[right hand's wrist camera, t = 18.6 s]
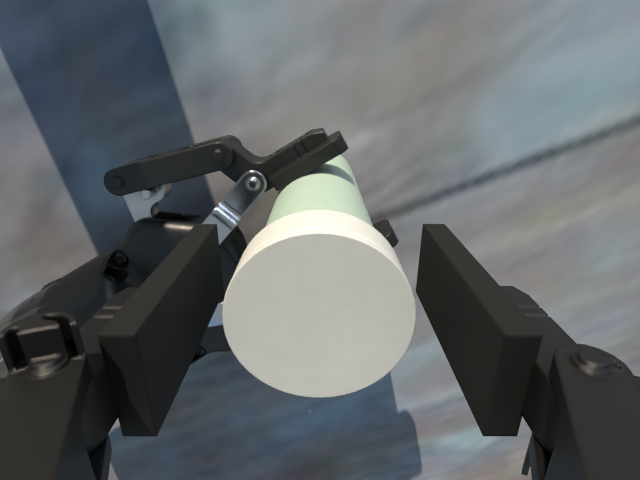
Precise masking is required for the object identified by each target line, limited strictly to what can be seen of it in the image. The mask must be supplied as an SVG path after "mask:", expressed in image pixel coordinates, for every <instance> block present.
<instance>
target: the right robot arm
mask: <svg viewBox="0 0 640 480" xmlns="http://www.w3.org/2000/svg"><path fill="white" fill-rule="evenodd" d="M223 293H224V286H223V276H222V267H221V258H220V248H219V239H218V229H217V224H195V225H194V227H193V228H192V229H191V230H190V231H189V232H188V233H187V234H186V236H185V237H184V238H183V239H182V240H181V241H180V242H179V243H178V245H177V246H176V247H175V248H174V249H173V250H172V251H171V252H170V253H169V255H168V256H167V257H166V258H165V259H164V260H163V261H162V262H161V264H160V265H159V266H158V267H157V268H156V269H155V270H154V271H153V273H152V274H151V275H150V276H149V277H148V278H147V279H146V280H145V281H144V283H143V284H142V285H141V286H140V287H128V288H126V289H124V290H123V291H121V292H119V293H117V294H115V295H114V296H112V297H111V298H110V299H109V300H108V301H107V302H106V303H105V304H104V305H103V306H102V307H101V309H99V310H98V311H97V312H96V313H95V314H94V315H93V318H90V319H89V320H88V321H87V322H86V323H85V324H84V325H83V326H82V327H81V328H80V329H79V326H78V322H77V319H76V316H75V315H73V314H72V313H70V312H64V311H51V312H44V313H39V314H35V315H31V316H28V317H26V318H23V319H21V320H18V321H16V322H14V323H13V324H11V325H9V326H8V327H6V328H4V329H3V330H2V331H1V332H0V351H1V354H2V356H3V359H4V362H5V364H6V367H7V370H8V372H9V373H8V375H7V377H6V378H1V379H0V480H108V475H109V467H110V459H111V450H112V448H111V442H110V438H109V435H108V433H109V431H110V430H111V428H112V426H113V425H114V423H115V421H116V420H117V418H119V422H120V426H121V430H122V434H123V436H157V435H158V432H159V430H160V428H161V426H162V424H163V422H164V420H165V417H166V415H167V413H168V411H169V409H170V407H171V404H172V402H173V400H174V398H175V396H176V394H177V392H178V389H179V387H180V385H181V383H182V381H183V379H184V376H185V374H186V372H187V370H188V368H189V366H190V364H191V361H192V359H193V357H194V355H195V353H196V351H197V348H198V346H199V344H200V342H201V340H202V338H203V336H204V333H205V331H206V329H207V327H208V325H209V323H210V320H211V318H212V316H213V314H214V312H215V310H216V308H217V305H218V303H219V301H220V299H221V297H222V295H223ZM416 293H417V295H418V297H419V299H420V301H421V303H422V305H423V308H424V310H425V312H426V314H427V316H428V318H429V321H430V323H431V325H432V327H433V329H434V331H435V333H436V336H437V338H438V340H439V342H440V344H441V346H442V348H443V351H444V353H445V355H446V357H447V359H448V361H449V364H450V366H451V368H452V370H453V372H454V374H455V376H456V379H457V381H458V383H459V385H460V387H461V389H462V392H463V394H464V396H465V398H466V400H467V402H468V404H469V407H470V409H471V411H472V413H473V415H474V417H475V420H476V422H477V424H478V426H479V428H480V430H481V432H482V435H483V436H517V434H518V430H519V426H520V422H521V418H522V416H523V418H524V419H525V421H526V423H527V424H528V426H529V427H530V429H531V431H532V435H531V438H530V442H529V446H528V449H527V453H526V456H525V460H524V464H523V468H522V474H523V475H526V476H527V474H528V471H529V467H531V474H532V480H640V377H638V376H634V375H633V374H632V372H631V371H630V370H629V368H628V367H627V366H626V365H625V363H623V362H622V361H620V360H619V359H618V358H616V357H615V356H613V355H611V354H609V353H607V352H605V351H603V350H601V349H598V348H595V347H591V346H588V345H584V344H576V343H575V342H574V341H573V340H572V339H571V338H570V337H569V336H568V335H567V334H566V333H565V332H564V331H563V330H562V329H561V328H560V327H559V326H558V325H557V324H556V322H555V321H554V320H553V319H552V318H551V317H548V314H547V313H546V312H545V311H544V310H543V309H542V308H539V305H538V304H537V303H536V302H535V301H534V300H533V299H532V298H531V297H530V296H529V295H527V294H525V293H524V292H522V291H520V290H518V289H516V288H515V287H513V286H499V285H498V284H497V283H496V281H495V280H494V279H493V278H492V277H491V276H490V275H489V274H488V273H487V271H486V270H485V269H484V268H483V267H482V266H481V265H480V264H479V262H478V261H477V260H476V259H475V258H474V257H473V256H472V255H471V253H470V252H469V251H468V250H467V249H466V248H465V247H464V246H463V245H462V243H461V242H460V241H459V240H458V239H457V238H456V237H455V236H454V234H453V233H452V232H451V231H450V230H449V229H448V228H447V227H446V225H445V224H423V229H422V239H421V248H420V257H419V267H418V276H417V286H416Z"/></svg>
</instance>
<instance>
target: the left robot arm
mask: <svg viewBox="0 0 640 480" xmlns="http://www.w3.org/2000/svg"><path fill="white" fill-rule="evenodd" d="M347 149H348V146H347V144H346V142H345V140H344V138H343V136H342V135H341V133H340V131H337V132H335V133H333V134H331V135H330V136H327V134H326V132H325V130H324V129H323V128H319V129H313V130H310V131H309V132H307V133H305V134H304V135H302V136H301V137H299V138H297V139H296V140H294V141H292V142H291V143H289V144H287V145H286V146H284V147H282V148H281V149H279V150H277V151H276V152H274V153H272V154H271V155H269V156H266V157H258V156H255V155H253V154H252V153H250V152H249V151H248V150H247V149H245V148H244V147H243V146H242V144H241V142H240V140H239V139H238V138H236V137H235V136H231V135H227V136H223V137H219V138H216V139H212V140H208V141H204V142H201V143H197V144H193V145H190V146H186V147H182V148H178V149H175V150H171V151H167V152H164V153H160V154H156V155H152V156H149V157H145V158H141V159H138V160H134V161H132V162H129V163H127V164H124V165H122V166H119V167H117V168H115V169H112V170H110V171H108V172H107V173H106V174H105V176H104V184H105V187H106V188H107V190H108V191H109V192H110V193H112V194H114V195H117V196H123V198H124V200H125V203H126V205H127V207H128V209H129V211H130V213H131V216H132V218H133V220H134V222H135V223H134V224H133V225H132V226H131V227H130V229H129V231H128V233H127V236H126V238H125V239H124V240H123V241H122V242H120V243H118V244H117V245H115V246H113V247H112V248H110V249H109V250H107V251H105V252H104V253H102V254H100V255H99V256H97V257H95V258H94V259H92V260H90V261H89V262H87V263H86V264H84V265H82V266H81V267H79V268H77V269H76V270H74V271H72V272H71V273H69V274H67V275H66V276H64V277H62V278H60V279H57V280H55V281H53V282H51V283H49V284H47V285H45V286H44V287H43V288H42V289H41V291H39V292H38V293H36V294H34V295H33V296H31V297H29V298H28V299H26V300H25V301H23V302H22V303H20V304H19V305H18V306H17V307H15V308H14V309H13V310H12V311H10V312H9V313H8V314H7V315H6V316H5V317H4V318H2V319H1V320H0V332H1V331H2V330H3V329H4V328H6V327H8V326H9V325H11V324H13V323H14V322H16V321H18V320H21V319H23V318H26V317H28V316H31V315H35V314H39V313H44V312H51V311H64V312H70V313H72V314H73V315H75V316H76V319H77V322H78V326H79V329H80V328H81V327H82V326H83V325H84V324H85V323H86V322H87V321H88V320H89V319H90V318H93V315H94V314H95V313H96V312H97V311H98V310H99V309H101V307H102V306H103V305H104V304H105V303H106V302H107V301H108V300H109V299H110V298H111V297H112V296H114V295H115V294H117V293H119V292H121V291H123V290H124V289H126V288H128V287H140V286H141V285H142V284H143V283H144V281H145V280H146V279H147V278H148V277H149V276H150V275H151V274H152V273H153V271H154V270H155V269H156V268H157V267H158V266H159V265H160V264H161V262H162V261H163V260H164V259H165V258H166V257H167V256H168V255H169V253H170V252H171V251H172V250H173V249H174V248H175V247H176V246H177V245H178V243H179V242H180V241H181V240H182V239H183V238H184V237H185V236H186V234H187V233H188V232H189V231H190V230H191V229H192V228H193V227H194V225H195V224H217V229H218V239H219V248H220V258H221V267H222V276H223V286H224V293H223V295H222V297H221V299H220V301H219V303H218V305H217V308H216V310H215V312H214V314H213V316H212V318H211V320H210V323H209V325H208V327H207V329H206V331H205V333H204V336H203V338H202V340H201V342H200V344H199V346H198V348H197V351H196V353H195V355H194V357H193V359H192V361H191V364H193V363H194V362H196V361H197V360H198V359H200V358H201V357H203V356H204V355H206V354H208V353H211V352H217V351H231V348H230V346H229V344H228V341H227V338H226V336H225V332H224V327H223V318H222V310H223V301H224V298H225V294H226V290H227V288H228V286H229V283H230V281H231V279H232V277H233V275H234V272H235V270H236V268H237V266H238V264H239V261H240V259H241V257H242V255H243V253H244V251H245V249H246V248H247V244H246V241H245V238H244V236H243V233H242V232H241V231H240V229H239V228H238V226H237V224H238V222H239V221H240V220H241V218H242V217H243V216H244V215H245V214H246V212H247V211H248V210H249V209H250V208H251V207H252V206H253V204H254V203H255V202H256V201H257V200H258V199H259V197H260V196H261V195H262V194H263V193H264V192H266V191H268V190H269V189H271V188H273V187H275V189H276V190H277V191H278V190H280V189H282V188H284V187H285V186H287V185H289V184H290V183H292V182H293V181H295V180H297V179H299V178H301V177H302V176H304V175H306V174H308V173H309V172H311V171H313V170H314V169H316V168H318V167H320V166H321V165H323V164H325V163H326V162H328V161H330V160H332V159H333V158H335V157H337V156H338V155H340V154H342V153H343V152H345V151H346V150H347ZM219 170H220V171H221V172H223V173H224V174H225V175H227V176H228V177H229V178H231V179H232V180H233V181H235V182H236V183H235V185H234V186H233V187H232V188H231V189H230V191H229V192H228V193H227V194H226V195H225V197H224V198H223V199H222V200H221V201H220V203H219V204H218V205H217V206H216V207H215V209H214V210H213V211H212V212H211V213H210V215H209V216H204V215H193V214H183V213H172V212H161V211H158V203H159V201H161V200H162V199H163V198H165V197H166V196H168V195H169V194H170V192H171V189H172V186H171V183H173V182H177V181H181V180H185V179H189V178H193V177H196V176H200V175H204V174H208V173H212V172H216V171H219ZM373 227H374V228H375V229H376V230H377V231H378V232H380V233H381V234H382V235H383V236H384V238H385V239H386V240H387V241H388V242H389V244H390V245H391V247H392V248H393V247H394V246H396V245H397V243H398V239H397V237H396V235H395V233H394V231H393V229H392V227H391V225H390V223H389V222H388V220H382V221H379V222H377V223H375V224H373ZM191 364H190V365H191ZM8 373H9V372H8V370H7V367H6V364H5V362H4V359H3V356H2V354H1V351H0V379H1V378H6V377H7V375H8Z"/></svg>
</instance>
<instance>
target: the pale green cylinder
mask: <svg viewBox="0 0 640 480" xmlns="http://www.w3.org/2000/svg"><path fill="white" fill-rule="evenodd" d="M308 210H331V211H337V212H342V213H345V214H348V215H352V216H354V217H356V218H358V219H361V220H363V221H364V222H366V223H368V224H369V225H371V226H372V227H373V225H372V222H371V220H370V217H369V214H368V212H367V209H366V206H365V204H364V201H363V199H362V196H361V193H360V191H359V188H358V185H357V183H356V180H355V177H354V175H353V172H352V169H351V167H350V165H349V164H348V162H347V161H346V160H345V159H344V158H343V157H342V156H341V155H338V156H337V157H335V158H333V159H332V160H330V161H328V162H326V163H325V164H323V165H321V166H320V167H318V168H316V169H314V170H313V171H311V172H309V173H308V174H306V175H304V176H302V177H301V178H299V179H297V180H295V181H293V182H292V183H290V184H289V185H287V186H285V187H284V188H282V189H280V190H279V193H278V196H277V198H276V201H275V203H274V206H273V209H272V211H271V214H270V217H269V219H268V222H267V224H266V227H267V226H268V225H269V224H271V223H272V222H274V221H276V220H278V219H280V218H282V217H285V216H287V215H290V214H293V213H297V212H302V211H308Z"/></svg>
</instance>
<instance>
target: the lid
mask: <svg viewBox="0 0 640 480" xmlns="http://www.w3.org/2000/svg"><path fill="white" fill-rule="evenodd" d="M222 318H223V327H224V332H225V336H226V338H227V341H228V344H229V346H230V348H231V350H232V352H233V353H234V355H235V356H236V358H237V359H238V360H239V362H240V363H241V364H242V365H243V366H244V367H245V368H246V369H247V371H249V372H250V373H251V374H252V375H253V376H255V377H256V378H257V379H259V380H260V381H262V382H263V383H265V384H267V385H269V386H271V387H273V388H275V389H277V390H280V391H283V392H286V393H289V394H293V395H297V396H304V397H315V398H324V397H335V396H341V395H346V394H349V393H353V392H356V391H359V390H361V389H364V388H366V387H368V386H370V385H372V384H374V383H375V382H377V381H378V380H380V379H381V378H383V377H384V376H385V375H387V374H388V373H389V372H390V371H391V370H392V369H393V368H394V367H395V366H396V365H397V364H398V363H399V361H400V360H401V359H402V357H403V356H404V354H405V353H406V351H407V349H408V347H409V345H410V343H411V340H412V337H413V334H414V331H415V325H416V305H415V298H414V295H413V292H412V289H411V286H410V284H409V282H408V280H407V277H406V275H405V273H404V271H403V269H402V266H401V264H400V262H399V260H398V258H397V256H396V253H395V251H394V250H393V248H392V247H391V245H390V244H389V242H388V241H387V240H386V239H385V238H384V236H383V235H382V234H381V233H380V232H378V231H377V230H376V229H375V228H374V227H372V226H371V225H369V224H368V223H366V222H364V221H363V220H361V219H358V218H356V217H354V216H352V215H348V214H345V213H342V212H337V211H331V210H308V211H302V212H297V213H293V214H290V215H287V216H285V217H282V218H280V219H278V220H276V221H274V222H272V223H271V224H269V225H268V226H267V227H265V228H264V229H263V230H261V231H260V232H259V233H258V234H257V235H256V236H255V237H254V238H253V240H252V241H251V242H250V243H249V244H248V246H247V248H246V249H245V251H244V253H243V255H242V257H241V259H240V261H239V264H238V266H237V268H236V270H235V272H234V275H233V277H232V279H231V281H230V283H229V286H228V288H227V290H226V294H225V298H224V301H223V310H222Z"/></svg>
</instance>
